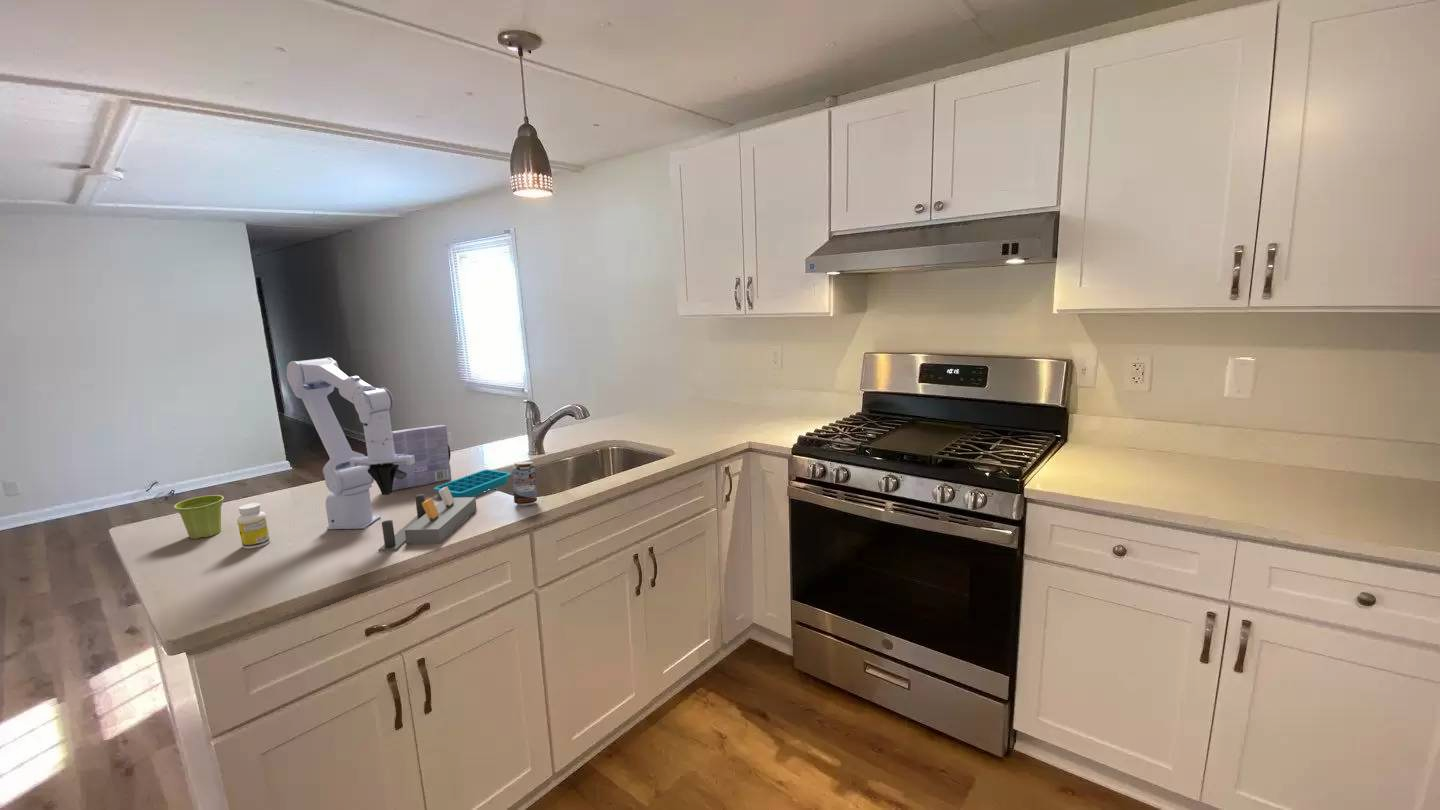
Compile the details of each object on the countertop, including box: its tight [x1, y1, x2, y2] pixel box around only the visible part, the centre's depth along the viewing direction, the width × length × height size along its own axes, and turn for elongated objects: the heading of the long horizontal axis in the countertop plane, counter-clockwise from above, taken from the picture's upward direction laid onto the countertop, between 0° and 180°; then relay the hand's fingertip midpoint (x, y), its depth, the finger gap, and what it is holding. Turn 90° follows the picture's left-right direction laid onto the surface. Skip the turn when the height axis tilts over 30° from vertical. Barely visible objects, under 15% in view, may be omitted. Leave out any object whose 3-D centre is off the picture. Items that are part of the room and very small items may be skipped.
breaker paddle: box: [422, 497, 439, 521], centre depth 147 cm, size 1×3×5 cm, turn 0°
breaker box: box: [405, 496, 478, 545], centre depth 152 cm, size 8×22×4 cm, turn 0°
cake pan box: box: [392, 424, 452, 492], centre depth 185 cm, size 19×5×18 cm, turn 130°
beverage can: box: [512, 461, 538, 506], centre depth 166 cm, size 6×7×12 cm
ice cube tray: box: [433, 469, 512, 498], centre depth 180 cm, size 12×20×3 cm, turn 154°
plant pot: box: [173, 494, 225, 540], centre depth 149 cm, size 9×9×9 cm
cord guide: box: [378, 493, 426, 553], centre depth 148 cm, size 4×21×7 cm, turn 4°
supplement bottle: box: [236, 502, 271, 550], centre depth 142 cm, size 5×5×10 cm
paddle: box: [438, 486, 454, 508], centre depth 156 cm, size 1×3×5 cm, turn 0°
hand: (387, 493), depth 146 cm, fingers closed
